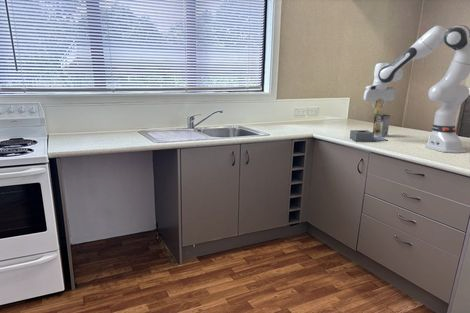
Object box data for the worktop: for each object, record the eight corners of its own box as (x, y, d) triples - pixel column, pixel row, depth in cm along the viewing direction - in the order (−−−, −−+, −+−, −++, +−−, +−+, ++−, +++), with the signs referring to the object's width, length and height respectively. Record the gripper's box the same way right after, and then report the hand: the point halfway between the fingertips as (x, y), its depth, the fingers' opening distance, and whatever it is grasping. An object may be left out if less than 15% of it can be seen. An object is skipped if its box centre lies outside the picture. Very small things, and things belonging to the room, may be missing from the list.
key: (378, 115, 236) (381, 98, 232) (380, 116, 232) (383, 99, 228) (372, 115, 236) (375, 98, 232) (374, 116, 232) (377, 98, 228)
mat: (387, 140, 232) (387, 139, 232) (373, 141, 232) (373, 139, 232) (379, 137, 244) (380, 136, 244) (366, 137, 244) (366, 136, 243)
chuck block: (373, 141, 229) (374, 133, 228) (355, 141, 229) (356, 133, 227) (366, 138, 241) (367, 130, 239) (349, 138, 241) (350, 130, 239)
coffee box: (372, 135, 254) (374, 113, 250) (378, 134, 256) (381, 113, 252) (381, 137, 245) (383, 115, 241) (387, 136, 248) (390, 114, 244)
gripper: (392, 86, 232) (390, 106, 235) (363, 86, 232) (361, 107, 235) (397, 86, 226) (395, 107, 229) (367, 87, 225) (365, 107, 229)
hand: (378, 107), depth 232 cm, fingers closed on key, 4 cm apart
